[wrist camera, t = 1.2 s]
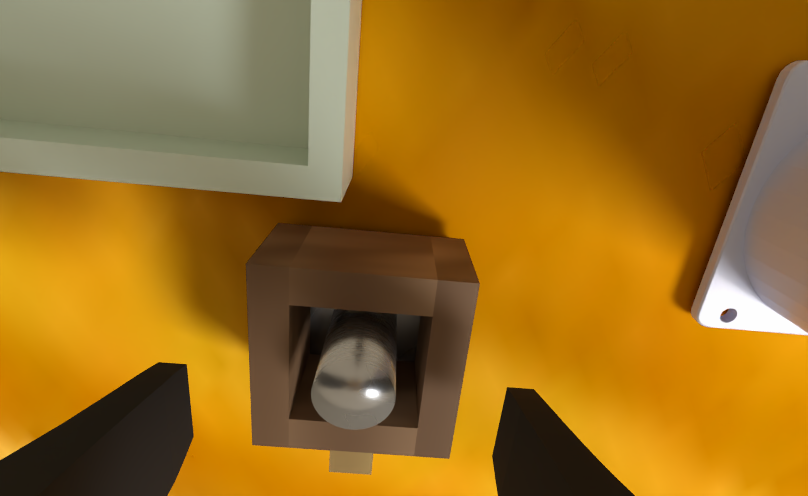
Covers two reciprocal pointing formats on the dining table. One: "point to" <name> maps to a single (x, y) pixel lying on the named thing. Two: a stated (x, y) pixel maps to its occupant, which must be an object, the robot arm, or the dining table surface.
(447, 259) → the ring
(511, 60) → the dining table surface
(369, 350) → the grey piece
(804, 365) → the dining table surface
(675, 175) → the dining table surface
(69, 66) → the tray
